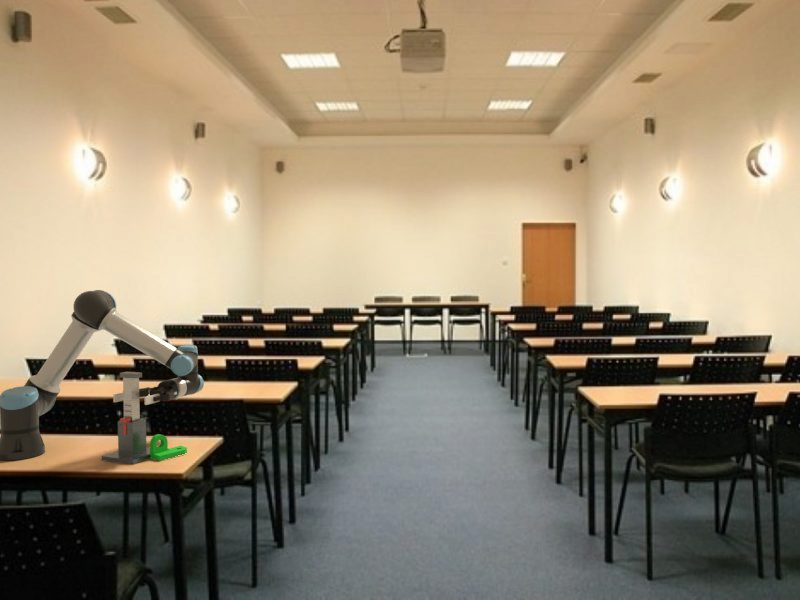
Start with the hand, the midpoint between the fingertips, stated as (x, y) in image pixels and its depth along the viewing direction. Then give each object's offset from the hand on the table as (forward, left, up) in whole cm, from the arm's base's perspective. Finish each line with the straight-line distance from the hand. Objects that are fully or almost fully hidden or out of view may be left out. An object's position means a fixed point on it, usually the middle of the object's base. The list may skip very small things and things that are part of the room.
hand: (129, 399), depth 218 cm
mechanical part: (+11, +7, -21) cm, 25 cm away
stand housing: (0, +1, -20) cm, 20 cm away
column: (0, +1, -18) cm, 18 cm away
